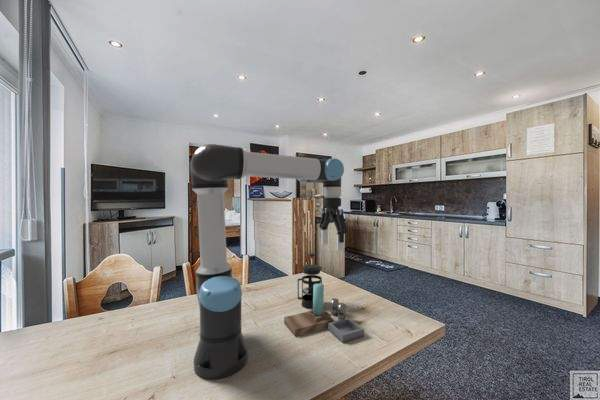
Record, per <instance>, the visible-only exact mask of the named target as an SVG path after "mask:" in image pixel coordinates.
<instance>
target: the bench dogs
mask: <svg viewBox="0 0 600 400" xmlns="http://www.w3.org/2000/svg"><path fill="white" fill-rule="evenodd" d="M339 301H340V300H339V299H338V298H331V299H330V314H331V317H332V316H333V317H337V321H338V320H342V319H346V318H347V304H346V303H344V302H339Z"/></svg>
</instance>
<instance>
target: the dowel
mask: <svg viewBox="0 0 600 400" xmlns="http://www.w3.org/2000/svg"><path fill="white" fill-rule="evenodd" d="M324 289H325V286H324V284H323V283H322V284H321V283H319V284H314V285H313V309H312V310H313V314H314V315H315V316H316V317H319V316H323V309H324V302H325V301H324V297H325V296H324V292H325V291H324Z"/></svg>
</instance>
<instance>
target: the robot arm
mask: <svg viewBox="0 0 600 400" xmlns="http://www.w3.org/2000/svg"><path fill="white" fill-rule="evenodd" d="M189 171H190V176H191V177H190V179H191V180H190V181H191V190H192V191H193V192H194V193H195V194H196V197H197V198H196V199H197V214H198V215H197V218H198V219H197V221H198V238H199V258H200V265H199V266H198V268H197V269H196V271H195V276H196V278H195V279H196V286H195V292H196V296H197V300H198V307H199V337H200V338H199V341H198V344H197V348H196V351H195V353H194V357H193V370H194V373H195V374H196V375H197V376H199V377H200V378H203V379H209V380H215V379H216V380H217V379H223V378H227V377H230V376H231V375H234V374H236V373H237V372H239V371H240V370H241V369H242V368H243V367H245V365H246V364H247V361H248V347H247V346H248V345H247V344H246V339H244V335H243V332H242V297H243V295H242V294H243V292H242V286H241V283H240V281H239V280H238V279H237V278H235V277H233V269H232V264H231V263H229V262H228V258H227V257H228V256H227V255H228V254H227V235H226V234H227V233H226V212H225V192H227V190H228V189H229V180H242V179H243V178H245V177H248V178H249V177H251V178H268V179H269V178H270V179H271V178H272V179H273V178H274V179H293V180H297V181H298V182H299V183H306V184H307V183H309V184H312V183H313V184H315V183H316V184H319V183H320V184H322V185H323V187H322V188H323V189H322V190H323V191H322V192H323V193H322V197H323V199H322V201H323V203H322V205H323V207H322V209H321V210H322V211H321V212H322V213H321V217H320V222H319V226H318V227H319V229H320V230H321V245H322V246H323V245H324V246H325V245H329V243H328V242H329V231H328V230H329V228H328V227H329V225H330V222H331V221H332V222H333V223H334V226H335V229H336V231H337V233H336V251H338V252H339V251H341V252H342V251H344V250H345V246H344V245H345V234H348V228H347V224H346V219H345V216H344V209H343V208H342V209H341V208H339V207H341V206H342V198H341V196H342V177H343V175H344V172H345V167H344V163H343V162H342V161H341V160H340V159H338V158H328V159H324V158H323V159H322V158H314V157H313V158H312V157H303V156H302V157H301V156H292V155H285V154H284V155H283V154H272V153H262V152H253V151H252V152H251V151H246V150H245V149H244V148H243V147H238V146H237V147H236V146H230V145H225V144H224V145H223V144H217V143H212V144H210V143H209V144H205V145H204V144H203V145H202V146H199V147H198V148H197V149H196V150H195V151H194V153H193V154H192V157H191V159H190V162H189Z"/></svg>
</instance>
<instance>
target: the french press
mask: <svg viewBox="0 0 600 400" xmlns="http://www.w3.org/2000/svg"><path fill="white" fill-rule="evenodd" d="M306 255H307V256H309V257H310V259H311V261H310V262H311V264H305V265H303V266H301V269H302V273H303V274H304V275H303V276H302V277H301V278H297V300H301V307H302V308H304V309H308V310H313V285H314V284H323V277H321V276H320V275H319V274H320V273H321V270H322V269H323V268H322V266H321V265H318V264H313V258H314V257H315V256H317V254H316V253H312V252H309V253H307V254H306ZM306 279H308V280H306ZM313 279H317V280H316V281H313ZM300 281H301V297H300V295H299V293H300V291H299V290H300V289H299V288H300V285H299V284H300ZM304 284H306V285H308V287H304Z"/></svg>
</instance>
